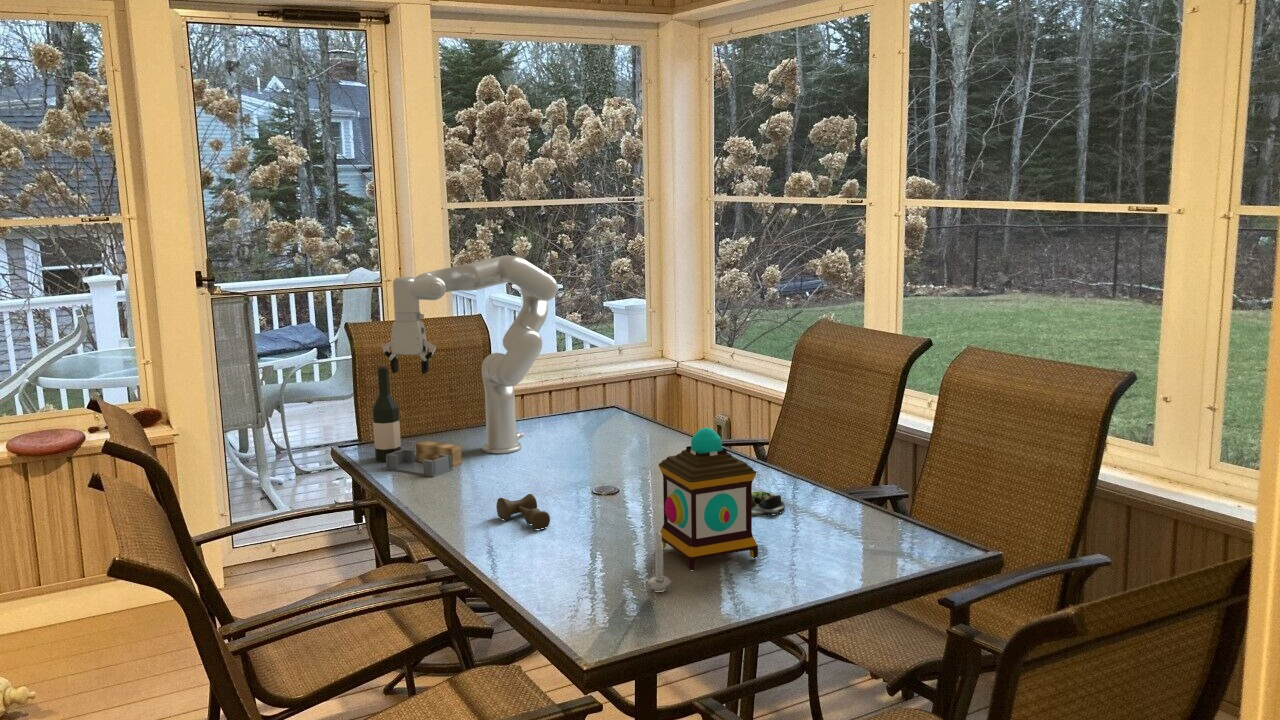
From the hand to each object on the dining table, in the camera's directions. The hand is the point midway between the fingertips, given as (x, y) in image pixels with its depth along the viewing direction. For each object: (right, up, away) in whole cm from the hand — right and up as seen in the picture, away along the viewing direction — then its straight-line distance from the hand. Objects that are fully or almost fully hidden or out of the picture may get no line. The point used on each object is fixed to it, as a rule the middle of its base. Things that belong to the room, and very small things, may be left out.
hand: (410, 372), depth 319 cm
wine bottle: (-9, -28, +10) cm, 31 cm away
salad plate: (+101, -35, -46) cm, 116 cm away
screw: (+75, -45, -100) cm, 133 cm away
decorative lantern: (+86, -41, -79) cm, 124 cm away
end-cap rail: (+3, -29, -3) cm, 30 cm away
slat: (+8, -28, +4) cm, 30 cm away
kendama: (+41, -38, -53) cm, 77 cm away
